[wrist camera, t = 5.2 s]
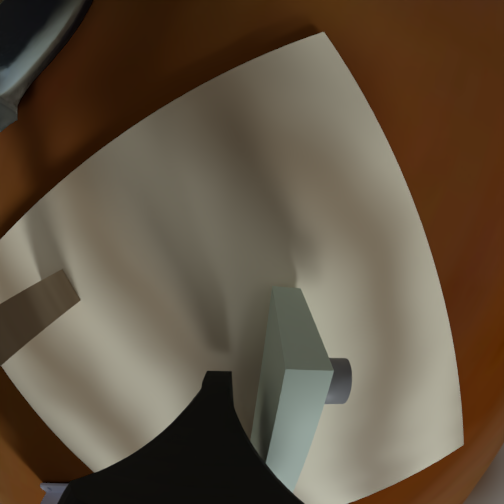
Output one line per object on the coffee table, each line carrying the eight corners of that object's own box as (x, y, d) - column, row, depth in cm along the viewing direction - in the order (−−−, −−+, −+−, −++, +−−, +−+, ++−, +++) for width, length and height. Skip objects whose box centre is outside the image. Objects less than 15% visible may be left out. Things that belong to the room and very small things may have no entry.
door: (237, 510, 14) (234, 575, 9) (270, 285, 11) (283, 371, 6) (273, 511, 14) (275, 575, 9) (333, 290, 11) (387, 372, 6)
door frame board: (185, 527, 17) (175, 587, 11) (-31, 284, 12) (-105, 324, 6) (457, 435, 15) (497, 498, 8) (318, 42, 10) (370, -59, 3)
